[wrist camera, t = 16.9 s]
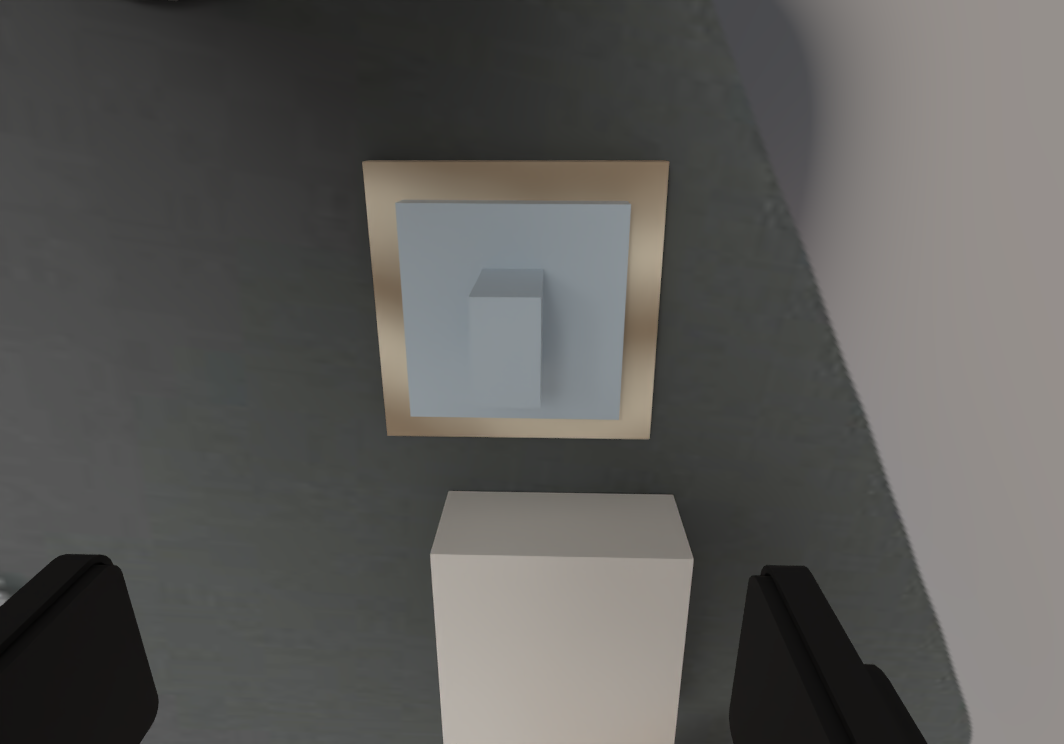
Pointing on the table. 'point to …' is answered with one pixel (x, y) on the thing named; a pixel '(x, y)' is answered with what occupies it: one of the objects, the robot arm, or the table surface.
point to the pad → (522, 182)
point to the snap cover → (514, 307)
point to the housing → (560, 617)
